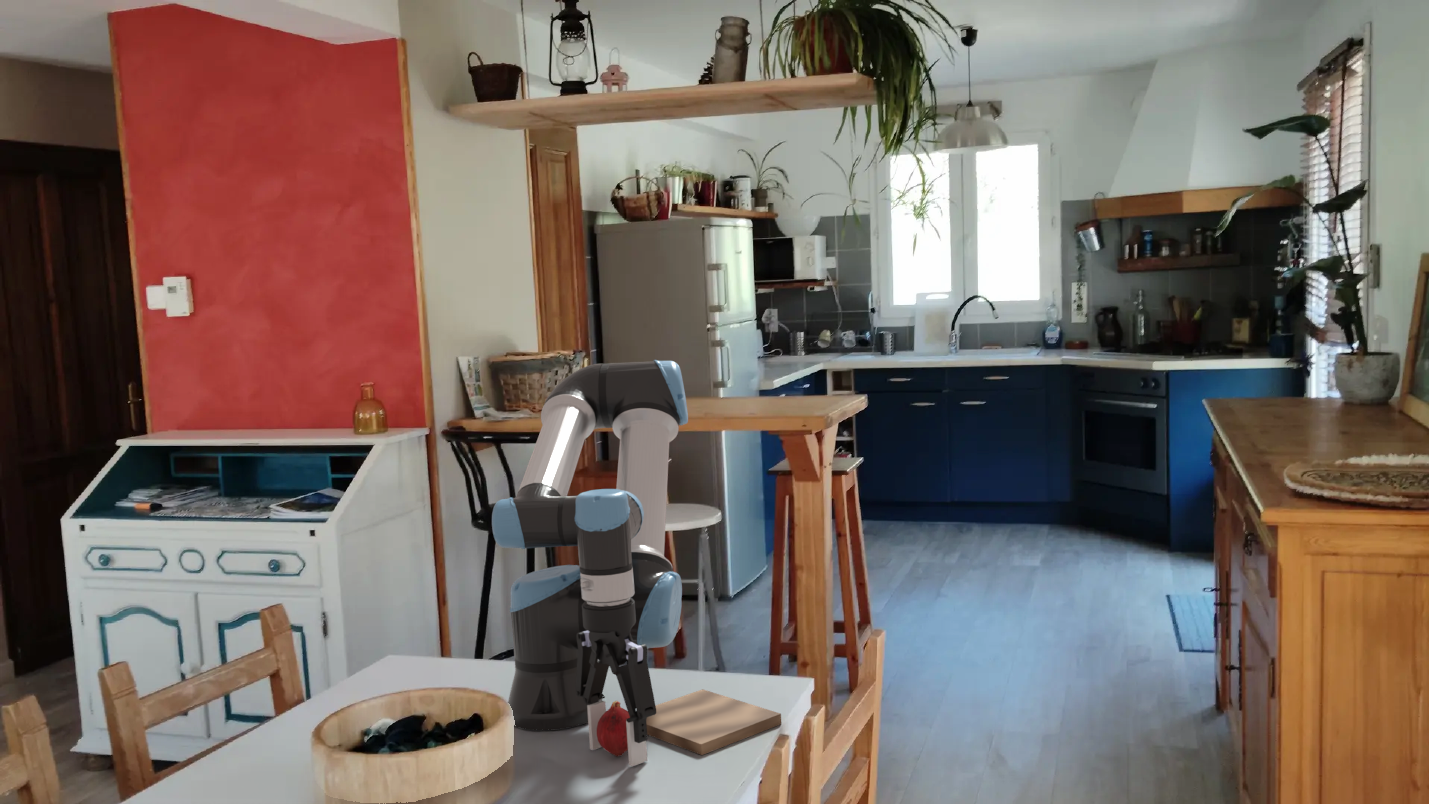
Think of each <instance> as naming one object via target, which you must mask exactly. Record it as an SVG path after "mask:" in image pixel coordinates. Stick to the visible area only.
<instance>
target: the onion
mask: <svg viewBox="0 0 1429 804" xmlns="http://www.w3.org/2000/svg"><path fill="white" fill-rule="evenodd" d="M628 718H630V716H629V713H628V710H627V709H625V708H623V707H621V702H620V701H618V700H615V701H613V702H612V704H611V706H610V707H609V709H606V712H605V713H604V714H603V715H602V716H601V718H600V719H599V722H598V725H597V738H598V742H599V743H600V745H601V746H602V747H601V748H603V750H605V751H606V752H607V753H609V754H611V755H613V756H614V757H618V758H619V757H622V756H623V755H624V754H625V753H626V752H628V742H627V727H626V719H628Z"/></svg>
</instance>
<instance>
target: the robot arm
mask: <svg viewBox="0 0 1429 804" xmlns="http://www.w3.org/2000/svg"><path fill="white" fill-rule="evenodd" d="M685 392H686V391H685V386H684V380H683V375H682V370H681V367H680V366H679V364H678V363H677V362H675V361H673V360H657V359H653V361H631V362H610V363H594V364H590V365H586V366H584V367H581V368H579V369H578V370H576V371H574V372H572V373H570V374H569V375H567V377H565V378H564V379H562V381H560V383H558V384H557V385H556V386H555V387H554V388H553V389H552V391H551V392H550V394H549V395H547V397H546V399H545V401H544V404H543V406H542V409H541V412H540V413H541V414H540V421H541V424H542V426H541V429H540V431H539V435H538V437H537V440H536V442H535V444H534V448H533V451H532V453H531V456H530V459H529V461H528V464H527V467H526V470H525V472H524V475H523V478H522V481H521V483H520V485H519V488H518V490H517V494H516V496H515V497H513V496H512V497H511V496H510V497H508V498H503V499H499V500H497V501H496V503H495V504H494V506H493V509H492V513H491V527H492V528H491V529H492V534H493V538H494V541H495V543H496V544H497V545H498V546H499V547H500V548H502V549H503V548H504V549H522V550H525V549H536V548H537V549H538V548H553V547H554V548H555V547H558V548H559V547H577V550H578V551H577V552H578V554H577V555H578V561H579V562H578V563H579V565H578V564H575V565H574V564H565V565H556V566H551V567H547V568H543V569H542V568H541V569H537V570H534V571H532V572H529V573H527V574H524V575H522V576H520V577H518V578H517V579H515V581H514V582H513V583H512V584H511V587H510V607H509V612H510V617H511V628H512V629H511V630H512V643H513V644H512V645H513V656H514V668H515V670H514V676H513V680H512V684H511V688H510V692H509V696H508V701H507V703H509V704H510V706H511V708H512V710H513V716H514V720H515V725H516V727H515V728H518V729H521V730H526V731H527V730H528V731H536V732H538V731H540V732H541V731H542V732H543V731H558V730H559V731H560V730H564V729H571V728H575V727H579V726H582V725H584V724H588V737H589V750H591V751H595V750H598V749H601V748H603V747H602V746H601V745H600V743H599V742H598V738H597V725H598V722H599V719H600V718H601V716H602V715H603V714H604V713H605V712H606V711H607V709H606V708H607V707H606V701H605V700H603V699H605V698H606V696H605V695H604V694H603V692H604V689H605V684H606V680H607V676H608V672H609V668H610V671H611V673H612V674H613V675H615V677H616V679H617V683H618V686H619V689H620V692H621V694H622V697H623V701H624V704H625V707H626V710H627V711H628V713H629V716H630V718H628V719H626V727H627V742H628V750H627V752H628V753H627V754H628V755H627V757H628V765H629V766H630V767H634V766H637V765H639V764H643V763H645V762H648V749H647V740H648V735H647V724H646V719H647V717H650V716H652V715H655V714H656V706H655V705H656V703H655V702H656V701H655V697H654V692H653V690H654V689H653V686H652V680H651V675H650V670H649V664H648V649H654V648H655V649H656V648H663V647H666V646H668V645H670V644H671V643H672V642H673V641H674V639H675V637H676V635H677V632H678V628H679V624H680V620H681V619H680V618H681V615H682V604H683V602H682V598H683V597H682V596H683V584H682V578H681V575H680V574H679V573H677V572H675V571H674V569H673V568H674V567H673V564H672V563H671V561H670V560H669V559H668V558H667V557H665V543H666V519H667V518H666V517H667V498H668V478H669V476H668V474H669V458H670V457H669V456H670V455H669V454H670V443H671V442H672V441H673V440H674V439H676V438H677V435H678V434H679V429H680V428H679V426H684V425H686V424H688V423H689V414H688V405H687V397H686V393H685ZM596 429H597V430H598V429H612V432H613V434H614V435H615V436H616V438H618V439H619V448H618V461H617V462H618V463H617V474H616V475H617V476H616V477H617V478H616V488H601V489H598V488H597V489H591V490H587V491H583V492H580V493H579V494H578V495H568V494H569V490H570V487H571V483H572V481H573V478H574V475H575V471H576V469H577V465H578V463H579V458H580V456H581V455H580V454H581V452H582V449H583V446H584V442H585V440H586V439H587V438H588V437H589V436H591V435H592V433H593V431H594V430H596Z"/></svg>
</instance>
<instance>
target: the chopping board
mask: <svg viewBox="0 0 1429 804" xmlns="http://www.w3.org/2000/svg"><path fill="white" fill-rule="evenodd" d="M655 706H656V714H655V715H652V716H650V717H647V719H646V724H647V736H650V737H652V738H654V739H656V740H657V739H658V740H659V741H660V740H661V741H663V742H666V743H668V744H671V745H674V746H677V747H678V748H682V749H683V750H684V749H685V750H687V751H689V752H692V753H695V754H697V755H700V756H703V755H705V754H708V753H712V752H714V751H716V750H719V749H721V748H723V747H724V748H725V747H726V746H729V745H732V744H733V743H734V744H735V743H737V742H739V741H742V740H744V739H746V738H749V737H752V736H754V735H757V734H759V733H760V734H761V733H762V732H765V731H767V730H769V729H772V728H775V727H777V726H780V725H782V713H780V712H776V711H774V710H770V709H768V708H764V707H760V706H757V705H755V704H752V703H748V702H745V701H741V700H740V699H739V700H738V699H735V698H732V697H729V696H725V695H724V694H723V695H722V694H719V693H717V692H712V691H711V690H706V689H700V690H696V691H693V692H691V693H688V694H685V695H683V696H679V697H676V698H673V699H670V700H667V701H665V702H662V703H658V704H655Z"/></svg>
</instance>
